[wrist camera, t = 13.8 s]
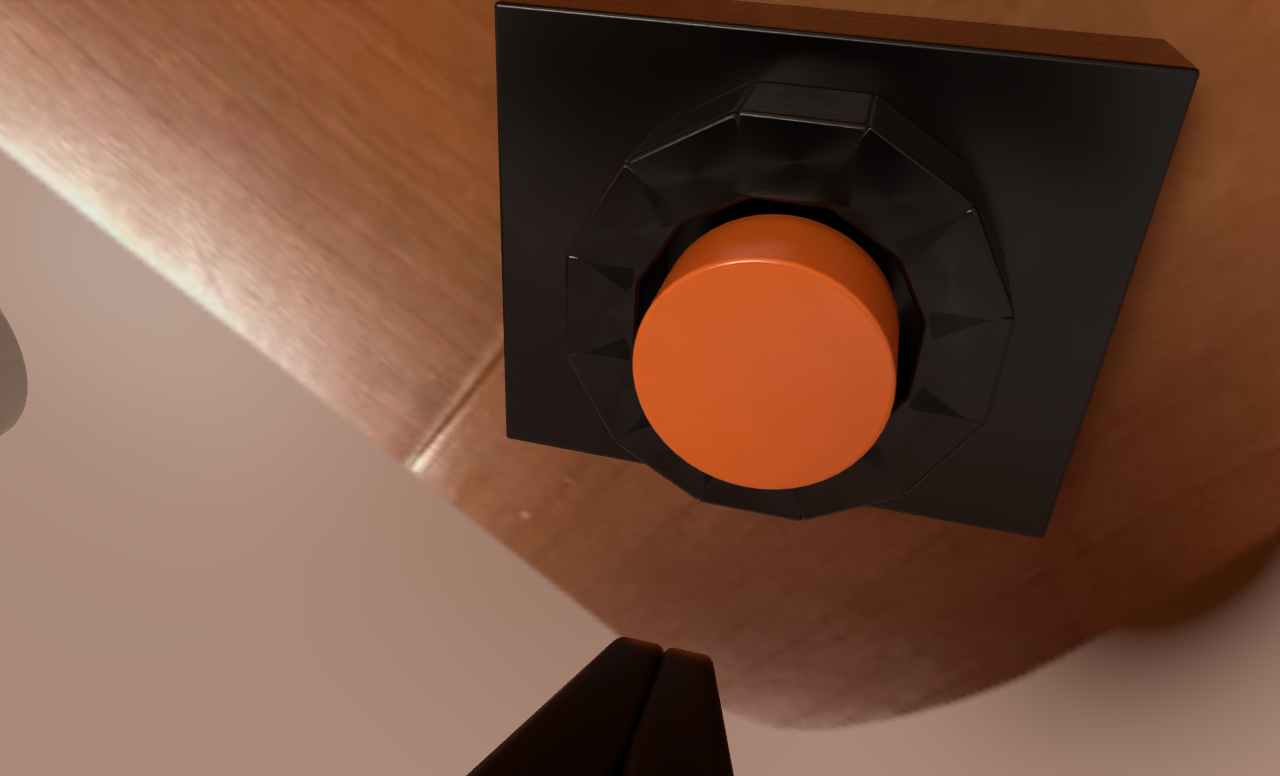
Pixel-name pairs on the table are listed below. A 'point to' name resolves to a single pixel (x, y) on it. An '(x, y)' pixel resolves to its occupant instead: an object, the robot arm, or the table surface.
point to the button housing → (834, 221)
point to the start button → (770, 353)
